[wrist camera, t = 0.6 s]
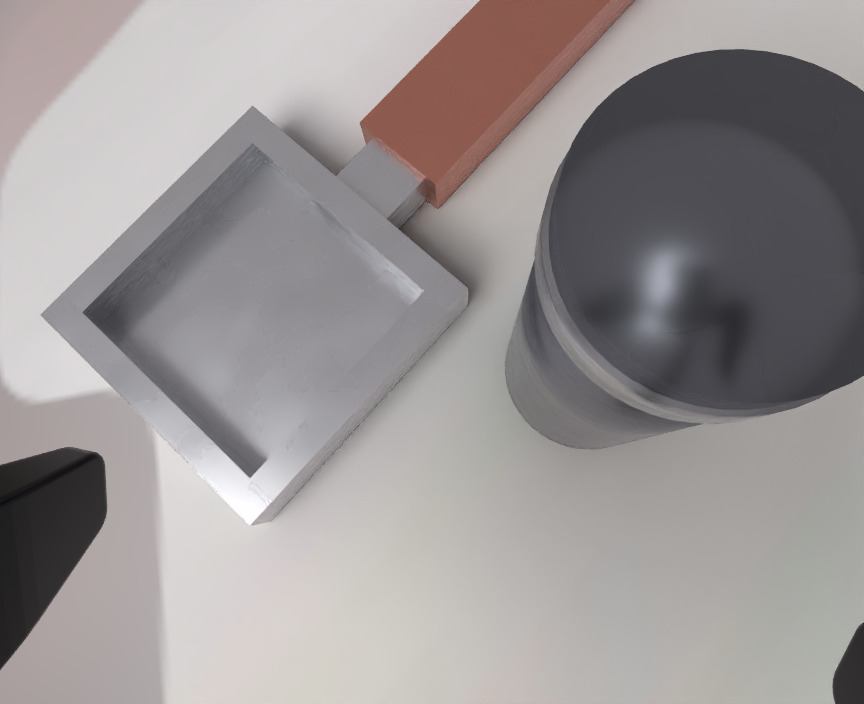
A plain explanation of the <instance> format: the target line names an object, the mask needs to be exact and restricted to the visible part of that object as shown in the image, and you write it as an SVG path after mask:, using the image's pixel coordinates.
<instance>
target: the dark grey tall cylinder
mask: <svg viewBox="0 0 864 704" xmlns="http://www.w3.org/2000/svg"><path fill="white" fill-rule="evenodd" d="M505 374H506V381H507V386H508V389H509V393H510V395H511V398H512V400H513V402H514V404H515V406H516V408H517V409H518V411H519V413H520V414H521V415H522V416H523V418H524V419H525V420H526V421H527V422H528V423H529V424H530V425H531V426H532V427H533V428H534V429H535V430H536V431H538V432H539V433H540V434H542V435H543V436H545V437H547V438H548V439H550V440H552V441H554V442H557V443H559V444H561V445H565V446H568V447H572V448H579V449H599V448H606V447H610V446H614V445H618V444H622V443H626V442H630V441H635V440H639V439H643V438H647V437H651V436H655V435H659V434H663V433H667V432H671V431H675V430H679V429H684V428H688V427H692V426H696V425H700V424H704V423H708V424H718V423H727V422H735V421H742V420H746V419H751V418H755V417H760V416H764V415H769V414H773V413H777V412H781V411H785V410H789V409H793V408H796V407H799V406H801V405H804V404H806V403H809V402H811V401H814V400H816V399H819V398H820V397H822V396H824V395H826V394H827V393H829V392H831V391H833V390H835V389H838V388H840V387H843V386H845V385H848V384H850V383H852V382H853V381H855V380H857V379H859V378H860V377H862V376H864V92H863V91H862V90H861V89H860V88H858V87H857V86H855V85H853V84H852V83H850V82H848V81H847V80H845V79H843V78H842V77H840V76H838V75H837V74H835V73H833V72H830V71H828V70H826V69H824V68H822V67H819V66H817V65H815V64H812V63H809V62H806V61H803V60H800V59H797V58H794V57H791V56H786V55H781V54H777V53H772V52H766V51H756V50H745V49H734V50H714V51H707V52H699V53H694V54H690V55H686V56H682V57H678V58H675V59H672V60H669V61H667V62H664V63H661V64H659V65H656V66H654V67H652V68H650V69H648V70H646V71H644V72H642V73H640V74H639V75H637V76H635V77H633V78H631V79H630V80H629V81H627V82H626V83H625V84H623V85H622V86H620V87H619V88H618V89H616V90H615V91H614V92H613V93H611V94H610V95H609V96H608V97H607V98H606V99H605V100H604V101H603V102H602V103H601V104H600V105H599V106H598V107H597V108H596V109H595V111H594V112H593V113H592V114H591V115H590V117H589V118H588V119H587V120H586V122H585V123H584V124H583V126H582V128H581V129H580V131H579V133H578V134H577V136H576V138H575V139H574V141H573V143H572V145H571V148H570V150H569V151H568V153H567V155H566V156H565V158H564V159H563V161H562V163H561V164H560V166H559V168H558V170H557V173H556V175H555V177H554V180H553V182H552V184H551V187H550V190H549V194H548V197H547V201H546V204H545V208H544V211H543V215H542V218H541V222H540V226H539V230H538V233H537V240H536V248H535V260H534V263H533V266H532V270H531V273H530V276H529V280H528V283H527V286H526V289H525V293H524V296H523V299H522V303H521V306H520V309H519V312H518V316H517V319H516V322H515V326H514V329H513V332H512V335H511V339H510V342H509V346H508V349H507V353H506V361H505Z"/></svg>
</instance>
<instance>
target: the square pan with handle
mask: <svg viewBox="0 0 864 704" xmlns="http://www.w3.org/2000/svg"><path fill="white" fill-rule="evenodd" d="M634 1H635V0H480V1H479V2H478V3H477V4H476V5H475V6H474V7H473V8H472V9H471V10H470V11H469V12H468V13H467V14H466V15H465V16H464V17H463V18H462V19H461V20H460V21H459V22H458V23H457V24H456V25H455V26H454V27H453V28H452V29H451V30H450V31H449V32H448V33H447V35H446V36H445V37H444V38H443V39H442V40H441V41H440V42H439V43H438V44H437V45H436V46H435V47H434V48H433V49H432V50H431V51H430V52H429V53H428V54H427V55H426V56H425V57H424V58H423V59H422V60H421V61H420V62H419V63H418V64H417V65H416V66H415V67H414V68H413V69H412V70H411V71H410V72H409V73H408V74H407V75H406V76H405V77H404V78H403V79H402V80H401V81H400V82H399V83H398V84H397V85H396V86H395V87H394V88H393V89H392V90H391V91H390V92H389V93H388V94H387V95H386V96H385V97H384V99H383V100H382V101H381V102H380V103H379V104H378V105H377V106H376V107H375V108H374V109H373V110H372V111H371V112H370V113H369V114H368V115H367V116H366V117H365V118H364V119H363V120H362V121H361V122H360V125H361V128H362V132H363V135H364V138H365V142H366V146H365V147H364V148H363V149H362V150H361V151H360V152H359V153H358V154H357V155H356V156H355V157H354V158H353V159H352V160H351V161H350V162H349V163H348V164H347V165H346V166H345V167H344V168H343V169H342V170H341V171H340V172H339V173H338V175H337V176H335V175H334V174H333V173H332V172H330V171H329V170H328V169H327V168H326V167H324V166H323V165H322V164H321V163H320V162H319V161H317V160H316V159H315V158H314V157H313V156H311V155H310V154H309V153H308V152H307V151H306V150H304V149H303V148H302V147H301V146H300V145H298V144H297V143H296V142H295V141H294V140H293V139H291V138H290V137H289V136H288V135H287V134H285V133H284V132H283V131H282V130H281V129H280V128H278V127H277V126H276V125H275V124H274V123H272V122H271V121H270V120H269V119H268V118H267V117H265V116H264V115H263V114H262V113H261V112H259V111H258V110H257V109H256V108H255V107H254V106H252V107H251V108H250V109H249V110H248V111H247V112H246V113H245V114H244V115H243V116H242V117H241V118H240V119H239V120H238V121H237V122H236V123H235V124H234V125H233V126H232V127H231V128H230V129H229V130H228V131H227V132H225V133H224V134H223V135H222V136H221V137H220V138H219V139H218V140H217V141H216V142H215V143H214V144H213V145H212V146H211V147H210V148H209V149H208V150H207V151H206V152H205V153H204V154H203V155H202V156H201V157H200V158H199V159H198V160H197V161H196V162H195V163H194V164H193V165H192V166H191V167H190V168H189V169H188V170H187V171H186V172H185V173H184V174H183V175H182V176H181V177H180V178H179V179H178V180H177V181H176V182H175V183H174V184H173V185H172V186H171V187H170V188H169V189H168V190H167V191H166V192H165V193H164V194H163V195H162V196H161V197H160V198H159V199H157V200H156V201H155V202H154V203H153V204H152V205H151V206H150V207H149V208H148V209H147V210H146V211H145V212H144V213H143V214H142V215H141V216H140V217H139V218H138V219H137V220H136V221H135V222H134V223H133V224H132V225H131V226H130V227H129V228H128V229H127V230H126V231H125V232H124V233H123V234H122V235H121V236H120V237H119V238H118V239H117V240H116V241H115V242H114V243H113V244H112V245H111V246H110V247H109V248H108V249H107V250H106V251H105V252H104V253H103V254H102V255H101V256H100V257H99V258H98V259H97V260H96V261H95V262H94V263H93V264H92V265H91V266H89V267H88V268H87V269H86V270H85V271H84V272H83V273H82V274H81V275H80V276H79V277H78V278H77V279H76V280H75V281H74V282H73V283H72V284H71V285H70V286H69V287H68V288H67V289H66V290H65V291H64V292H63V293H62V294H61V295H60V296H59V297H58V298H57V299H56V300H55V301H54V302H53V303H52V304H51V305H50V306H49V307H48V308H47V309H46V310H45V311H44V312H43V313H42V314H41V316H42V317H43V318H44V319H45V320H46V321H47V322H48V323H49V324H50V325H51V326H52V327H53V328H54V329H55V330H56V331H57V332H58V333H59V334H60V335H61V336H62V337H63V338H64V339H65V340H66V341H67V342H68V343H69V344H70V345H71V346H72V347H73V348H74V349H75V350H76V351H77V352H78V353H79V354H80V355H81V356H82V357H83V358H84V359H85V360H86V361H87V362H88V363H89V364H90V365H91V366H92V367H93V368H94V369H95V370H96V371H97V372H98V373H99V374H100V375H101V376H102V377H103V378H104V379H105V380H106V381H107V382H108V383H109V384H110V385H111V387H112V388H113V389H114V390H115V391H116V392H117V393H118V394H119V395H120V396H121V397H122V398H123V399H124V400H125V401H126V402H127V403H128V404H129V405H130V406H131V407H132V408H133V409H134V410H135V411H136V412H137V413H138V414H139V415H140V416H141V417H143V419H144V420H145V421H146V422H147V423H148V424H149V425H150V426H151V427H152V428H153V429H154V430H155V431H156V432H157V433H158V434H159V435H160V436H161V437H162V438H163V439H164V440H165V441H166V442H167V443H168V444H169V445H170V446H171V447H172V448H173V449H174V450H175V451H176V452H177V453H178V454H179V455H180V456H181V457H182V458H183V459H184V460H185V461H186V462H187V463H188V464H189V465H190V466H191V467H192V468H193V469H194V470H195V471H196V472H197V473H198V474H199V475H200V476H201V477H202V478H203V479H204V480H205V481H206V482H207V483H208V484H209V485H210V486H211V487H212V488H213V489H214V490H215V491H216V492H217V493H218V494H219V495H220V496H221V497H222V498H223V499H224V500H225V501H226V502H227V503H228V504H229V505H230V506H231V507H232V508H233V509H234V510H235V511H236V512H237V513H238V514H239V515H240V516H241V517H242V518H243V519H244V520H245V521H246V522H247V523H248V524H249V525H250V526H251V525H256V524H260V523H265V522H270V521H271V520H272V519H273V518H274V517H275V516H276V515H277V514H278V513H279V511H280V510H281V509H282V508H283V507H284V506H285V505H286V504H287V503H288V502H289V500H290V499H291V498H292V497H293V496H294V495H295V494H296V493H297V492H298V491H299V490H300V488H301V487H302V486H303V485H304V484H305V483H306V482H307V481H308V480H309V479H310V478H311V476H312V475H313V474H314V473H315V472H316V471H317V470H318V469H319V468H320V467H321V466H322V464H323V463H324V462H325V461H326V460H327V459H328V458H329V457H330V456H331V455H332V454H333V452H334V451H335V450H336V449H337V448H338V447H339V446H340V445H341V444H342V443H343V442H344V440H345V439H346V438H347V437H348V436H349V435H350V434H351V433H352V432H353V431H354V430H355V428H356V427H357V426H358V425H359V424H360V423H361V422H362V421H363V420H364V419H365V418H366V416H367V415H368V414H369V413H370V412H371V411H372V410H373V409H374V408H375V407H376V406H377V404H378V403H379V402H380V401H381V400H382V399H383V398H384V397H385V396H386V395H387V394H388V392H389V391H390V390H391V389H392V388H393V387H394V386H395V385H396V384H397V383H398V382H399V380H400V379H401V378H402V377H403V376H404V375H405V374H406V373H407V372H408V371H409V370H410V368H411V367H412V366H413V365H414V364H415V363H416V362H417V361H418V360H419V359H420V358H421V356H422V355H423V354H424V353H425V352H426V351H427V350H428V349H429V348H430V347H431V346H432V344H433V343H434V342H435V341H436V340H437V339H438V338H439V337H440V336H441V335H442V334H443V332H444V331H445V330H446V329H447V328H448V327H449V326H450V325H451V324H452V323H453V321H454V320H455V319H456V318H457V317H458V316H459V315H460V314H461V313H462V312H463V311H464V309H465V308H466V307H467V306H468V288H467V287H466V286H465V285H464V284H463V283H461V282H460V281H459V280H458V279H457V278H456V277H454V276H453V275H452V274H451V273H450V272H448V271H447V270H446V269H445V268H444V267H443V266H441V265H440V264H439V263H438V262H437V261H435V260H434V259H433V258H432V257H431V256H430V255H428V254H427V253H426V252H425V251H424V250H422V249H421V248H420V247H419V246H418V245H417V244H415V243H414V242H413V241H412V240H411V239H409V238H408V237H407V236H406V235H405V234H404V233H402V232H401V231H400V230H399V228H400V227H401V226H402V225H403V224H404V223H405V222H406V221H407V220H408V219H409V218H410V217H411V216H412V215H413V214H414V213H415V212H416V210H417V209H418V208H419V207H420V206H421V205H422V204H423V203H424V202H425V201H426V200H428V201H429V202H430V203H431V204H432V205H434V206H435V207H436V208H437V209H438V208H439V207H440V206H441V205H442V204H443V203H444V202H445V201H446V200H447V199H448V198H449V197H450V196H451V194H452V193H453V192H454V191H455V190H456V189H457V188H458V187H459V186H460V185H461V184H462V183H463V182H464V181H465V180H466V179H467V178H468V176H469V175H470V174H471V173H472V172H473V171H474V170H475V169H476V168H477V167H478V166H479V165H480V164H481V163H482V162H483V161H484V160H485V158H486V157H487V156H488V155H489V154H490V153H491V152H492V151H493V150H494V149H495V148H496V147H497V146H498V145H499V144H500V143H501V142H502V140H503V139H504V138H505V137H506V136H507V135H508V134H509V133H510V132H511V131H512V130H513V129H514V128H515V127H516V126H517V125H518V124H519V122H520V121H521V120H522V119H523V118H524V117H525V116H526V115H527V114H528V113H529V112H530V111H531V110H532V109H533V108H534V107H535V106H536V105H537V103H538V102H539V101H540V100H541V99H542V98H543V97H544V96H545V95H546V94H547V93H548V92H549V91H550V90H551V89H552V88H553V87H554V85H555V84H556V83H557V82H558V81H559V80H560V79H561V78H562V77H563V76H564V75H565V74H566V73H567V72H568V71H569V70H570V69H571V67H572V66H573V65H574V64H575V63H576V62H577V61H578V60H579V59H580V58H581V57H582V56H583V55H584V54H585V53H586V52H587V51H588V49H589V48H590V47H591V46H592V45H593V44H594V43H595V42H596V41H597V40H598V39H599V38H600V37H601V36H602V35H603V34H604V33H605V31H606V30H607V29H608V28H609V27H610V26H611V25H612V24H613V23H614V22H615V21H616V20H617V19H618V18H619V17H620V16H621V15H622V13H623V12H624V11H625V10H626V9H627V8H628V7H629V6H630V5H631V4H632V3H633V2H634Z"/></svg>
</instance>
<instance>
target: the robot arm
mask: <svg viewBox="0 0 864 704" xmlns="http://www.w3.org/2000/svg"><path fill="white" fill-rule="evenodd" d="M106 514H107V495H106V476H105V463H104V460H103V458H102V456H100V455H99V454H98V453H96V452H91V451H87V450H82V449H78V448H73V447H65V448H61V449H57V450H54V451H50V452H46V453H42V454H39V455H35V456H32V457H28V458H25V459H21V460H17V461H14V462H10V463H6V464H2V465H0V670H1V669H2V667H3V666H4V665H5V664H6V663H7V661H8V660H9V659H10V658H11V656H12V655H13V654H14V653H15V651H16V650H17V649H18V648H19V646H20V645H21V644H22V643H23V641H24V640H25V639H26V637H27V636H28V635H29V633H30V632H31V631H32V629H33V628H34V626H35V625H36V624H37V622H38V621H39V620H40V618H41V617H42V615H43V614H44V612H45V611H46V609H47V608H48V606H49V605H50V603H51V602H52V600H53V599H54V597H55V596H56V595H57V593H58V592H59V590H60V589H61V587H62V586H63V584H64V583H65V581H66V580H67V578H68V577H69V575H70V574H71V572H72V571H73V570H74V568H75V567H76V565H77V564H78V562H79V561H80V559H81V558H82V556H83V555H84V553H85V552H86V550H87V549H88V548H89V546H90V545H91V543H92V542H93V540H94V538H95V537H96V535H97V534H98V533H99V531H100V529H101V527H102V526H103V524H104V521H105V518H106ZM833 696H834V701H835V704H864V623H862V624H861V625H860V626H859V627H858V628H857V630H856V632H855V634H854V636H853V638H852V640H851V641H850V643H849V645H848V647H847V649H846V651H845V653H844V655H843V657H842V659H841V661H840V663H839V665H838V667H837V669H836V671H835V674H834V678H833Z"/></svg>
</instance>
